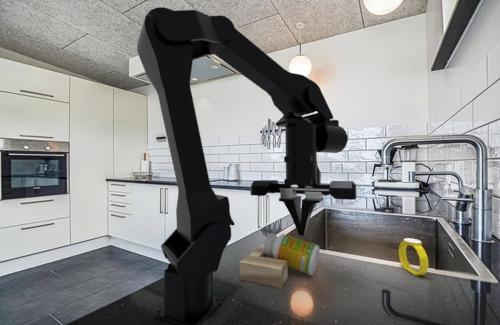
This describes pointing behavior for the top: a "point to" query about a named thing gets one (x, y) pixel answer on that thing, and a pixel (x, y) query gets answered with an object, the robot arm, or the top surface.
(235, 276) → the top surface
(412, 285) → the top surface
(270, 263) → the beige c-shaped block
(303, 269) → the supplement bottle
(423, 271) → the watch
